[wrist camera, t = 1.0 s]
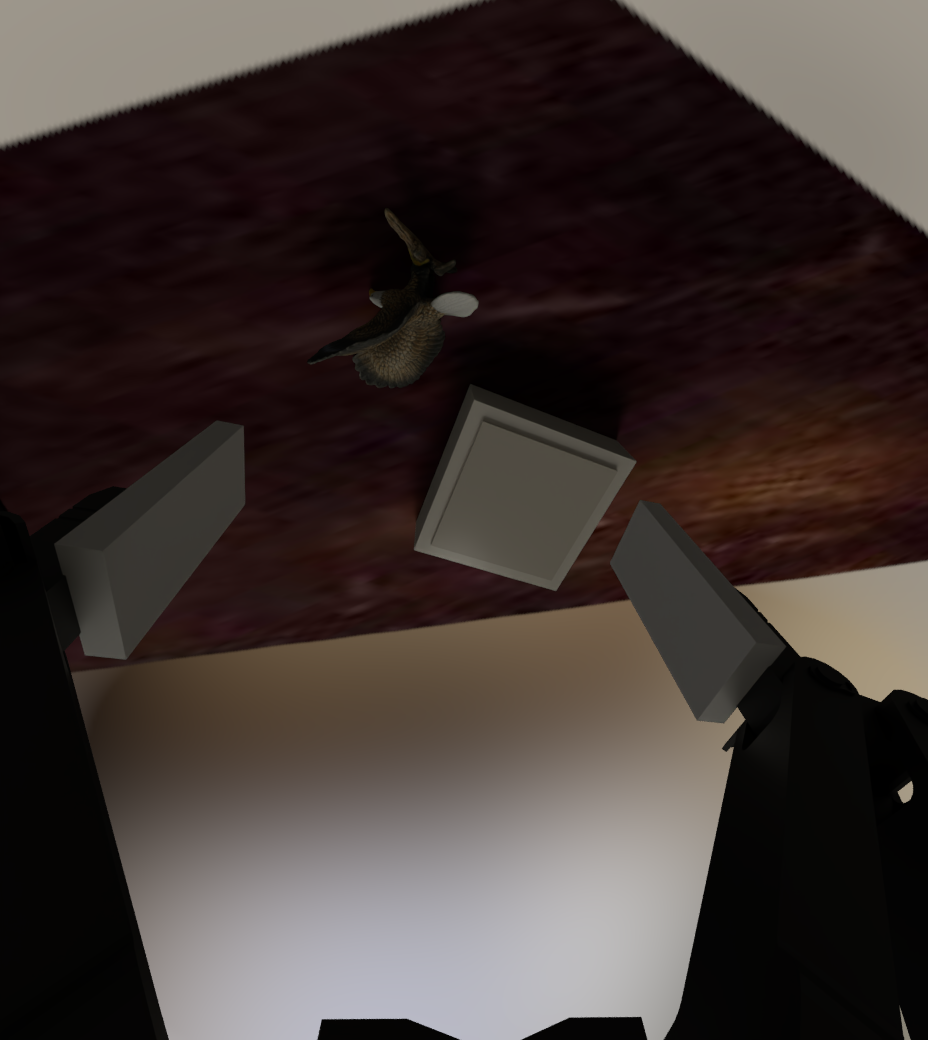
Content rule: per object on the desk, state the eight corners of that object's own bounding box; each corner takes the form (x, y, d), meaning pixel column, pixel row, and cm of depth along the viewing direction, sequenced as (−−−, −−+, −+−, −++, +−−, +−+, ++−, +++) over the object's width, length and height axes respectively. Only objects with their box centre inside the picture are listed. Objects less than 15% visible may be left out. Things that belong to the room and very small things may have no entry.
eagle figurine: (351, 196, 25) (283, 345, 27) (419, 213, 20) (332, 389, 23) (443, 276, 31) (381, 394, 33) (511, 302, 26) (434, 436, 28)
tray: (416, 522, 37) (413, 552, 33) (470, 383, 31) (474, 401, 28) (545, 561, 40) (556, 593, 36) (616, 440, 34) (638, 463, 30)
